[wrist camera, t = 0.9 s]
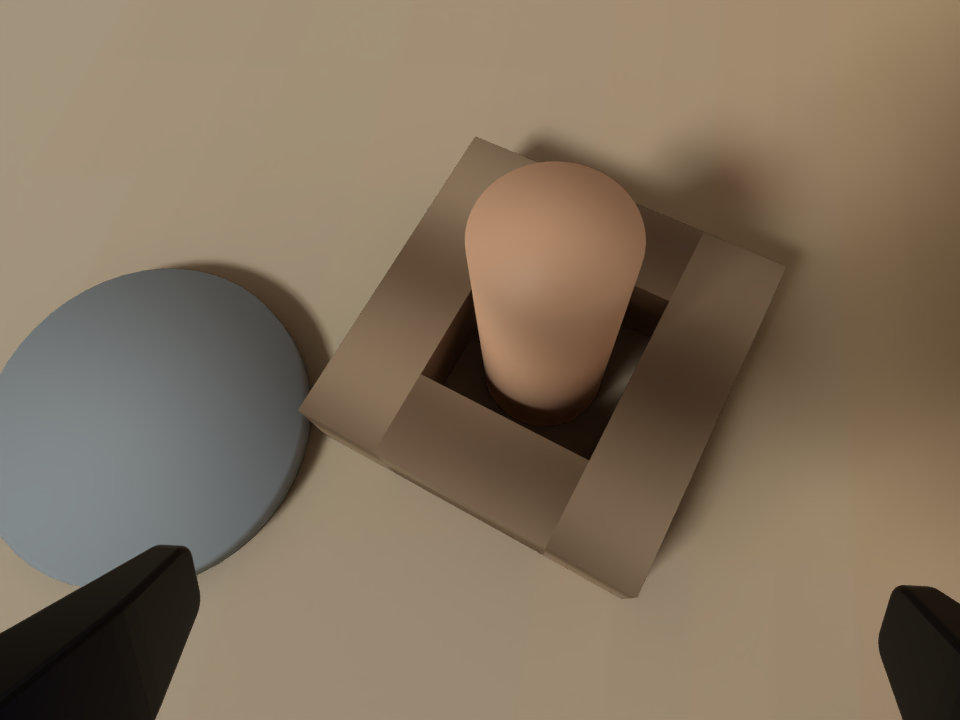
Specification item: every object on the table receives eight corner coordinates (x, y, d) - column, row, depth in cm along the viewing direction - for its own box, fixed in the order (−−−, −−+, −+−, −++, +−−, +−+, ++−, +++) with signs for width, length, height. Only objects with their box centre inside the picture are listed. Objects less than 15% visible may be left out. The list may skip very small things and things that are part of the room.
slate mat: (184, 657, 21) (168, 660, 20) (-67, 487, 23) (-91, 482, 23) (371, 360, 24) (365, 350, 23) (132, 236, 26) (118, 222, 26)
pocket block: (622, 598, 21) (637, 597, 18) (325, 434, 23) (297, 410, 20) (755, 307, 24) (786, 266, 21) (480, 186, 26) (475, 136, 23)
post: (569, 446, 23) (597, 350, 14) (464, 393, 24) (431, 271, 15) (621, 346, 24) (675, 202, 15) (518, 298, 25) (516, 137, 16)
